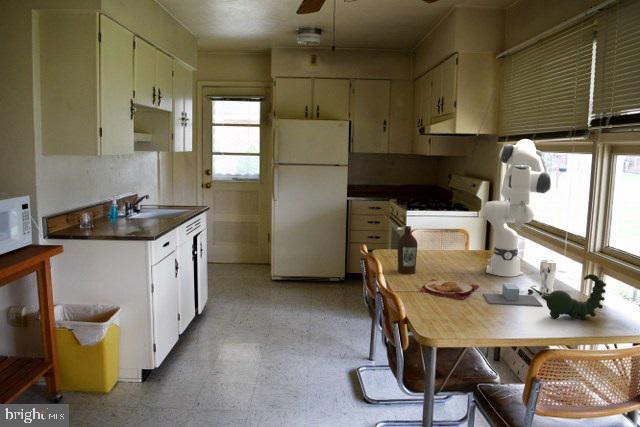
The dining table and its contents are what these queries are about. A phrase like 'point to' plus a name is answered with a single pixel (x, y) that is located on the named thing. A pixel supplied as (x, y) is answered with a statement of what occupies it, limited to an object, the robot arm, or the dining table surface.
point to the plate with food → (449, 288)
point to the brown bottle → (407, 252)
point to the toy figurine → (566, 305)
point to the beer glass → (547, 275)
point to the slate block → (510, 291)
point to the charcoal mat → (523, 300)
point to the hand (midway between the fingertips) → (518, 229)
